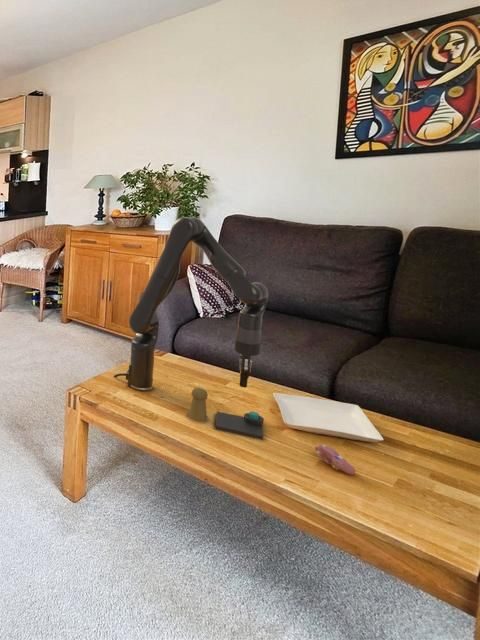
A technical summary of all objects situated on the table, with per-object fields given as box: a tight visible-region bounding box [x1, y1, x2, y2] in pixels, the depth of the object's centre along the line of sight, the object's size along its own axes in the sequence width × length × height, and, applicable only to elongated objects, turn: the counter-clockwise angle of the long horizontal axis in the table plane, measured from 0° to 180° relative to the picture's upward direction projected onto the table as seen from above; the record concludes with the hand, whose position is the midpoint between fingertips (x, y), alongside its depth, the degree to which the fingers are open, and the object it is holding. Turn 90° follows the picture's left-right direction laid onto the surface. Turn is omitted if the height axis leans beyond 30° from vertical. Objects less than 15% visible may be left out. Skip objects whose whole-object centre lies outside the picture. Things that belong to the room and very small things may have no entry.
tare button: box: [248, 411, 260, 420], centre depth 167 cm, size 3×3×2 cm
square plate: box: [272, 392, 384, 443], centre depth 169 cm, size 27×27×4 cm
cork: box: [188, 387, 208, 423], centre depth 172 cm, size 6×6×11 cm
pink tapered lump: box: [314, 443, 356, 475], centre depth 143 cm, size 10×5×7 cm, turn 5°
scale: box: [215, 411, 265, 441], centre depth 167 cm, size 14×13×3 cm
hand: (242, 386), depth 167 cm, fingers closed
